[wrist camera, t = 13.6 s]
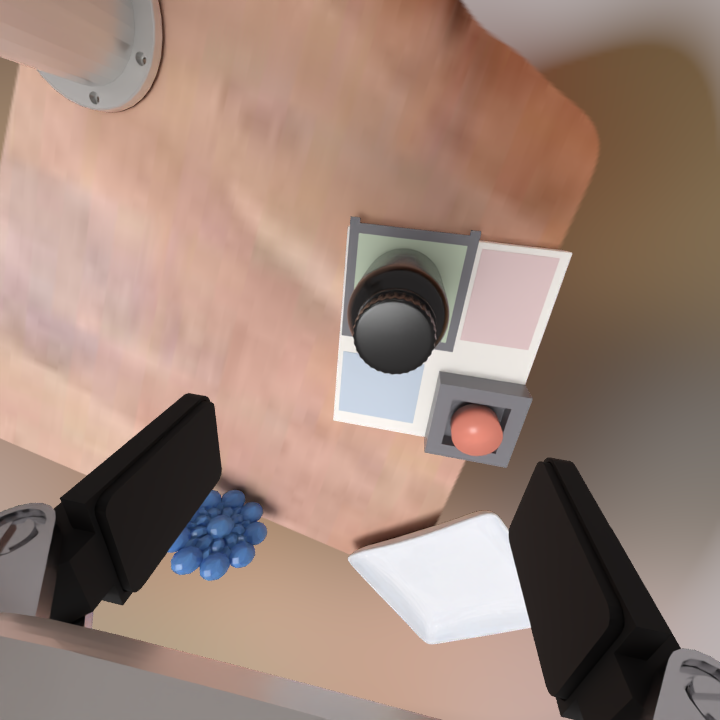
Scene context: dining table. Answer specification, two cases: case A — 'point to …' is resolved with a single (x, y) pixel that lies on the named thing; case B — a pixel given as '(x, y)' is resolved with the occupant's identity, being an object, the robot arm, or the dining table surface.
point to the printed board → (466, 320)
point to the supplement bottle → (398, 311)
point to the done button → (476, 430)
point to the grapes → (219, 536)
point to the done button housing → (494, 394)
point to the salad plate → (449, 578)
